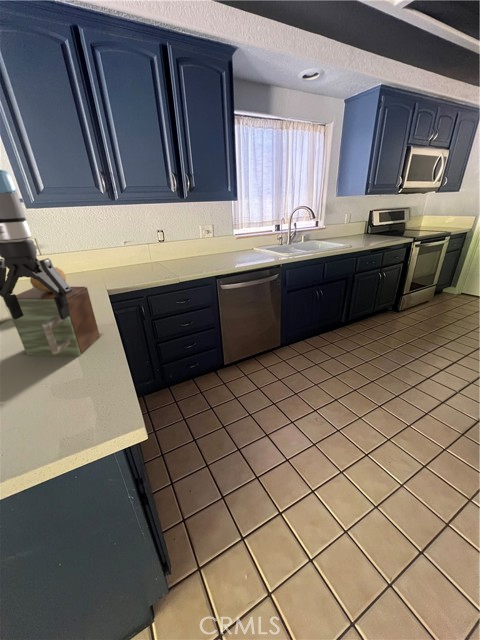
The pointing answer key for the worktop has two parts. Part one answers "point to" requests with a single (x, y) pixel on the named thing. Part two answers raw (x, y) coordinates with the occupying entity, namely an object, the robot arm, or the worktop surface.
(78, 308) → the cupboard
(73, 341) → the cupboard door
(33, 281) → the potato
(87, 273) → the worktop surface
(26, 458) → the worktop surface
